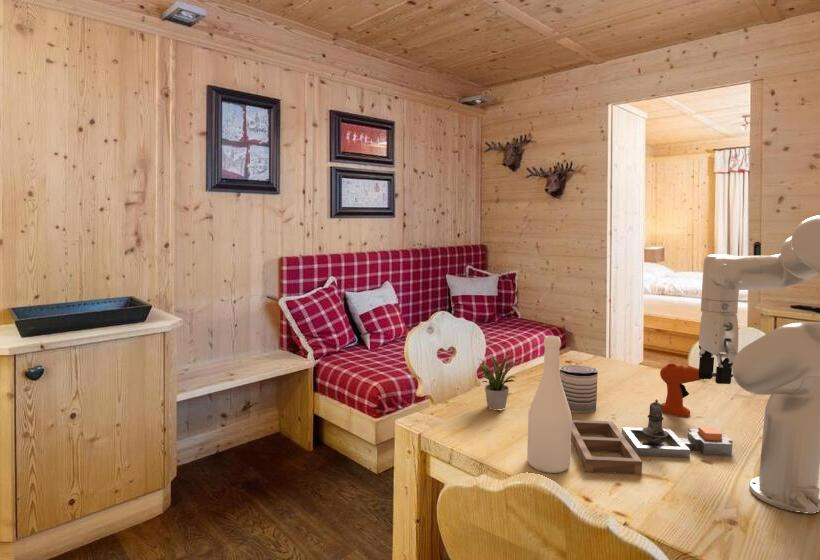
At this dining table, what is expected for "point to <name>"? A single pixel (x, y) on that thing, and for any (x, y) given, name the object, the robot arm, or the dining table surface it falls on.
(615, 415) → the dining table surface
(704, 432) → the button
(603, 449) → the walnut rack
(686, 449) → the grey flat frame piece
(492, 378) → the house plant
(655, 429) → the chess piece
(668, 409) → the toy drill
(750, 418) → the dining table surface
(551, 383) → the wine bottle
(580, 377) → the can
